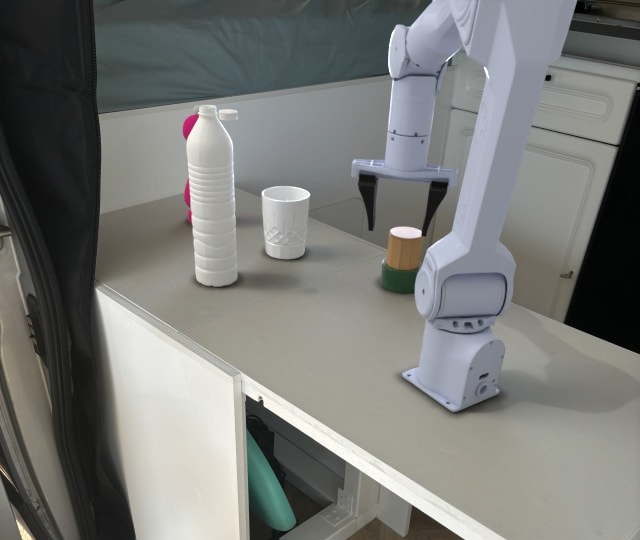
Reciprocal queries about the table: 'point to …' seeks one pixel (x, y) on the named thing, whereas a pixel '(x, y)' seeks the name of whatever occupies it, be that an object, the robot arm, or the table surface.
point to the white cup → (285, 221)
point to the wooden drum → (404, 248)
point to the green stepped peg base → (398, 278)
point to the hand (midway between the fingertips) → (397, 231)
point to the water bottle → (212, 197)
